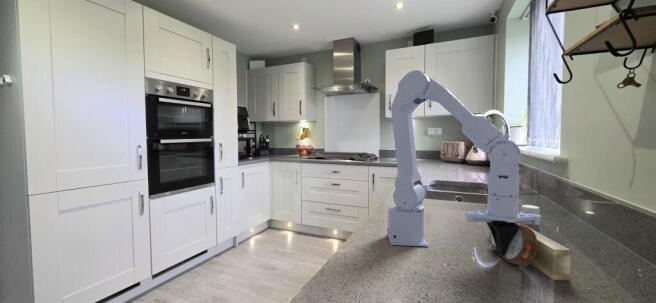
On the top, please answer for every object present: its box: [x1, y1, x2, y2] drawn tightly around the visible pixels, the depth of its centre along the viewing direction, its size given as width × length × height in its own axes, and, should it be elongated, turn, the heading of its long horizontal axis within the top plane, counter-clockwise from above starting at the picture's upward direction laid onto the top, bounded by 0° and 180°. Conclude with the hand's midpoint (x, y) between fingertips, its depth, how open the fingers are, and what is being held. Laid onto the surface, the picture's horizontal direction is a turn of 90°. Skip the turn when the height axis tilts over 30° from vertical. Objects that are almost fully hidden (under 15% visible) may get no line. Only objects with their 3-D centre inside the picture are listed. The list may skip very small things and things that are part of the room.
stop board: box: [526, 226, 572, 281], centre depth 63 cm, size 3×24×6 cm, turn 173°
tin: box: [489, 223, 537, 268], centre depth 60 cm, size 15×3×8 cm, turn 168°
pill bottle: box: [519, 204, 542, 234], centre depth 74 cm, size 5×5×8 cm
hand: (500, 254), depth 59 cm, fingers closed, pressing on tin
